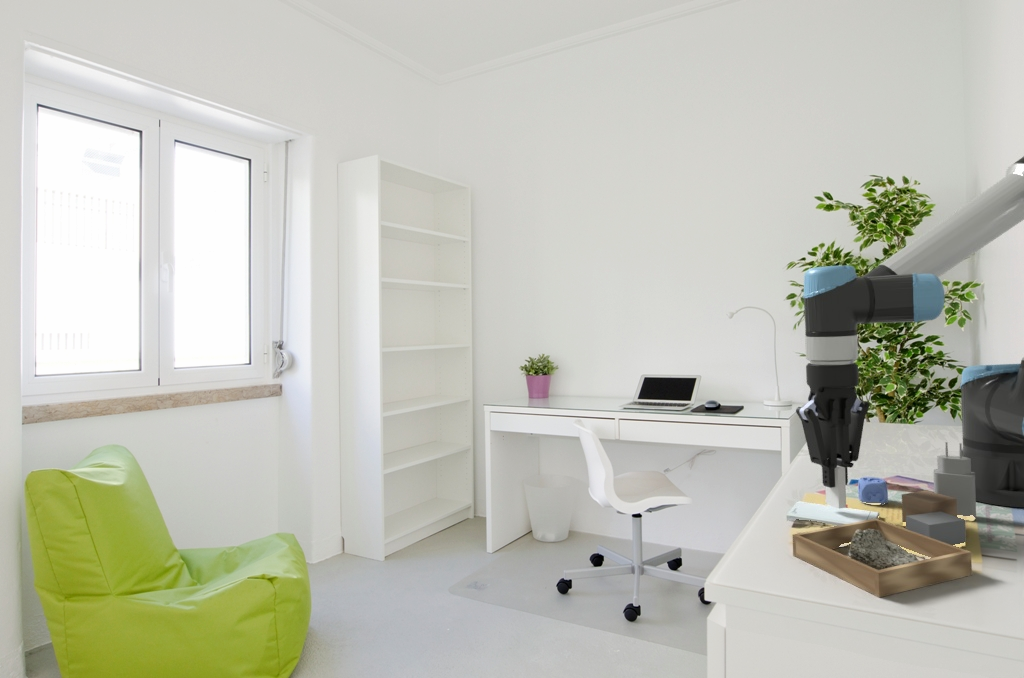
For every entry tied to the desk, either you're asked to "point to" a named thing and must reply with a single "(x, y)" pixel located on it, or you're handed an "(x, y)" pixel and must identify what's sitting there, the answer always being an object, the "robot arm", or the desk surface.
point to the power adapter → (956, 481)
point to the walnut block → (927, 504)
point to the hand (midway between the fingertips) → (835, 505)
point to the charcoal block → (938, 527)
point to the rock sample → (877, 550)
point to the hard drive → (828, 514)
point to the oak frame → (888, 581)
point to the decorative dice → (872, 490)
